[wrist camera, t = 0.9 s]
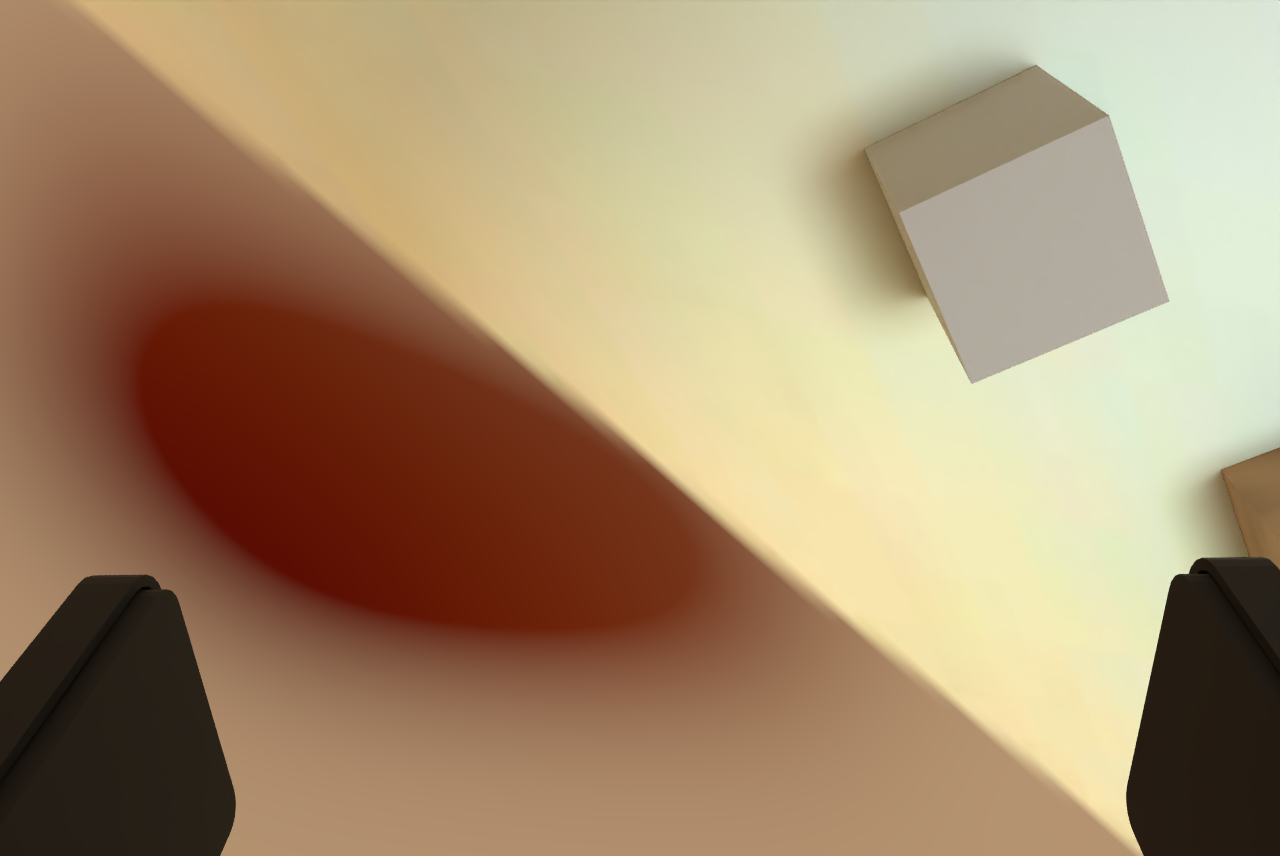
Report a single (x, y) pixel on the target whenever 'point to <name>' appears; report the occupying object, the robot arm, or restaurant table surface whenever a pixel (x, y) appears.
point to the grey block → (1019, 221)
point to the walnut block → (1257, 503)
